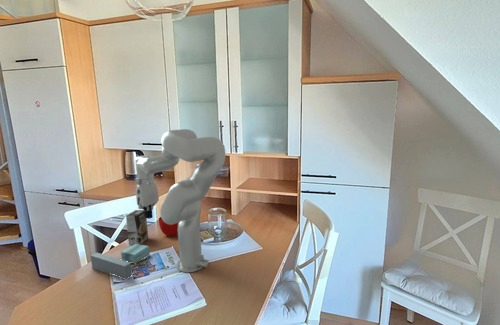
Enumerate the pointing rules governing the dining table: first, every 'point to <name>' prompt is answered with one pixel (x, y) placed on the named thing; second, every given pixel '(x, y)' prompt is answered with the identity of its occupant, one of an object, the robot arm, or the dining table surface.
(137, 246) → the block
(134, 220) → the coffee box
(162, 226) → the ceramic cup
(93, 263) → the board
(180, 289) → the dining table surface
